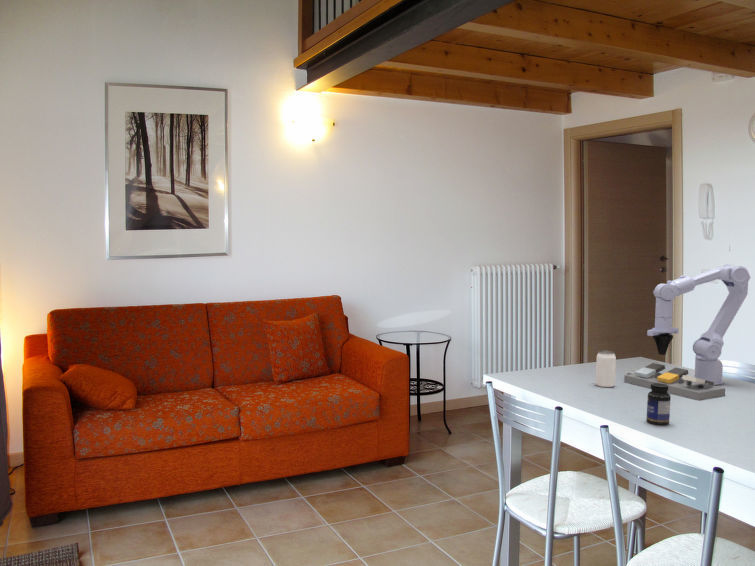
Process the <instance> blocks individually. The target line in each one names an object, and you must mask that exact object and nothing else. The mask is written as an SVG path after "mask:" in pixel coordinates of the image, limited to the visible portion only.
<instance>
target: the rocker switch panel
mask: <svg viewBox="0 0 755 566" xmlns="http://www.w3.org/2000/svg"><path fill="white" fill-rule="evenodd" d="M662 374H663V373H661V372H658V373H655V374H654V375H652V376H650V377H648V378H644V377H640V376H636V375H635V373H631V372H627V373H626V374H625V375H624V379H623V381H624V383H627V384H630V385H631V384H632V385H635V386H639V387H644V388H648V389H651V384H652V383H662V384H666V385H668V391H667V393H668V394H670V395H676V396H680V397H684V398H688V399H692V400H695V401H702V400H709V399H713V398H719V397H725V396H726V388H725V387H722V386H717V385H713V386H710V385H709V383H706V384H701V383H697V382H692V381H688V380H684V379H682V378H679V379H678V380H676V381H674V382H672V383H665V382H661V381H658V380H657V377H658V376H660V375H662Z"/></svg>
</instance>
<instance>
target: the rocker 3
mask: <svg viewBox="0 0 755 566" xmlns="http://www.w3.org/2000/svg"><path fill="white" fill-rule="evenodd" d="M682 379H684V380H688V381H692V382H697V383H701V384H706V383H709V385H710V386H715V385H714V382H711V381H707V380H703V379H699V378H694V377H693V376H689V375H683V377H682Z"/></svg>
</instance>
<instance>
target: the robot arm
mask: <svg viewBox="0 0 755 566" xmlns="http://www.w3.org/2000/svg"><path fill="white" fill-rule="evenodd" d="M750 279H751V275H750V273H749V271H748V269H747V268H746V266H742V265H733V264H725V265H721V266H716V267H715V268H712V269H708V270H707V271H705V272H701V273H700V274H697V275H693V276H689V275H684V274H683V275H680V276H679V277H678V278H677V279H676V278H675V279H673V280H671V279H670V280H667V282H666V283H659V284H657V285H656V286H655V288H654V290H653V291H652V293H653V295H654V297H655V311H654V313H655V315H654V316H655V318H654V327H652V329H648V330H647V331H646V332H647V333H646V336H650V337H652V338H653V340H654V342H655V345H656V348H657V349H656V350H657V354H658V355H661V356H665V355H666V354H667V352H668V348H669V346H670V344H671V341H672V340H673V339H674V334H675V335H676V334H677V335H678V334H679V328H678V327H673V313H674V312H673V309H674V307H673V306H674V299H676V298H677V297H678V296H682V295H684V294H687V293H690V292H692V291H694V290H695V288H696V286H700V285H702V284H707V283H709V282H714V281H715V280H719V281H721V282H723V284H724V285H725V287H726V288H727V291H728V295H727V296H726V298H725V300H724V302H723V303H722V305H721V307H720V309H719V310H718V312H717V314H716V315H715V317H714V319H713V321H712V323H711V324H710V326H709V328H708V329H707V330H706V331H705V332H703V333H702V334H701V335H700V337H699V338H698V339H696V340H695V341H694V342H693V344H692V352H693V353H694V354H695V359H694V361H695V362H694V378H699V379H703V380H707V381H711V382H714V385H713V386H717V385H718V386H719V385H722V384H725V382H724V381H723V371H724V370H723V369H724V367H723V363H722V361H721V360H720V359H719V358H720V357H721V355H722V349H723V347H724V344H725V343H724V339H723V338H724V336H725V334H726V332H727V331H728V329H729V328H730V326H731V324H732V323H733V320H734V319H735V317H736V315H737V313H738V311H739V310H740V308H741V307H742V305H743V303H744V301H745V299H746V298H747V296H748V293H749V292H748V291H749V281H750ZM672 334H673V335H672Z"/></svg>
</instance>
